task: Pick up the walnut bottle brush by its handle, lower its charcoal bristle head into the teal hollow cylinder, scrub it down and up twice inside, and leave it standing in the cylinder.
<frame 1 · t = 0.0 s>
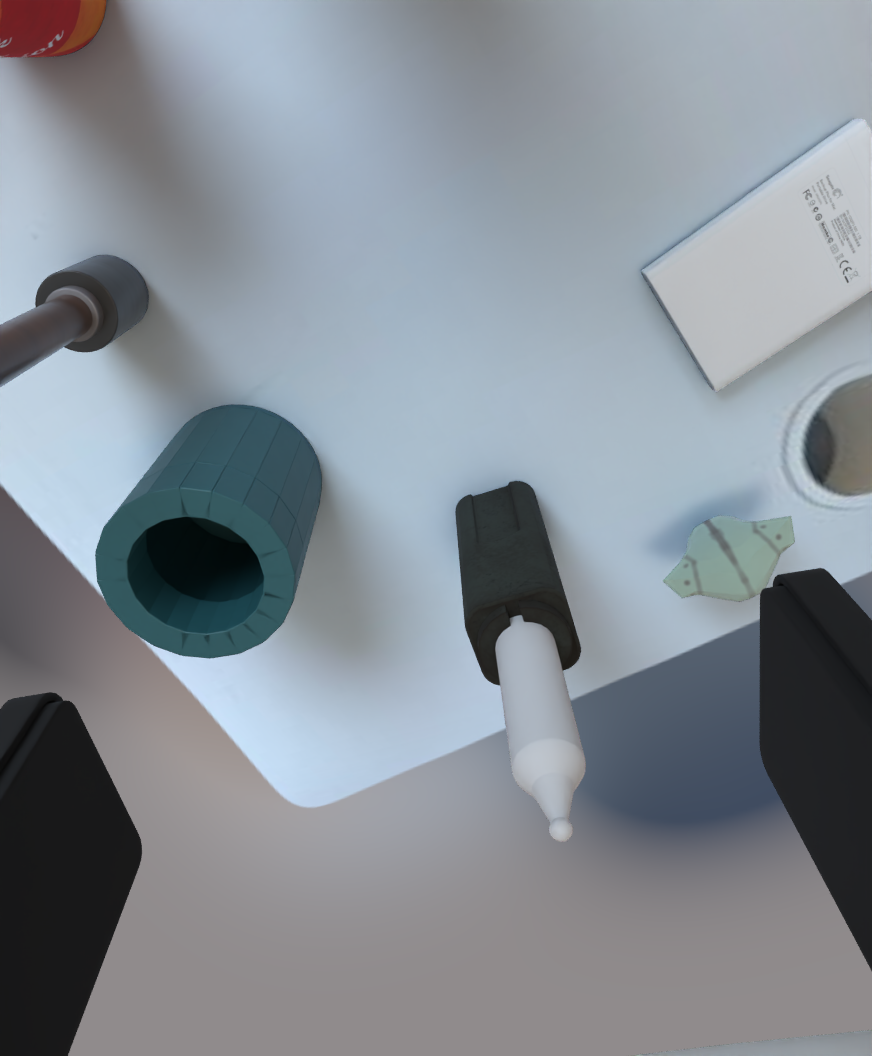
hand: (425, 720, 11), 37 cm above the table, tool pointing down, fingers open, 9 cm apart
hard drive: (773, 261, 44), on the table
teal hollow cylinder: (245, 477, 49), on the table
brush: (111, 292, 44), on the table
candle: (500, 521, 51), on the table
robot head: (707, 528, 51), on the table
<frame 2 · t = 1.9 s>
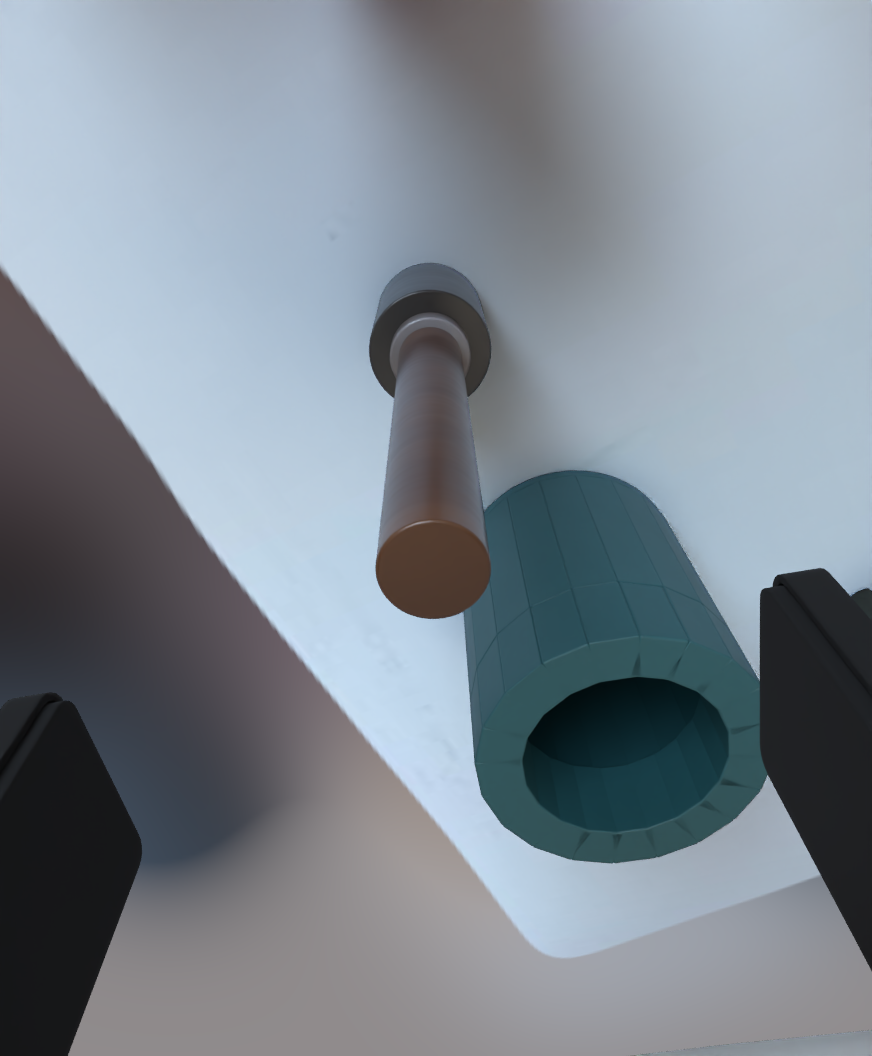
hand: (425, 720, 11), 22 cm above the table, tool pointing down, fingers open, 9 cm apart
teal hollow cylinder: (566, 566, 36), on the table
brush: (429, 317, 31), on the table
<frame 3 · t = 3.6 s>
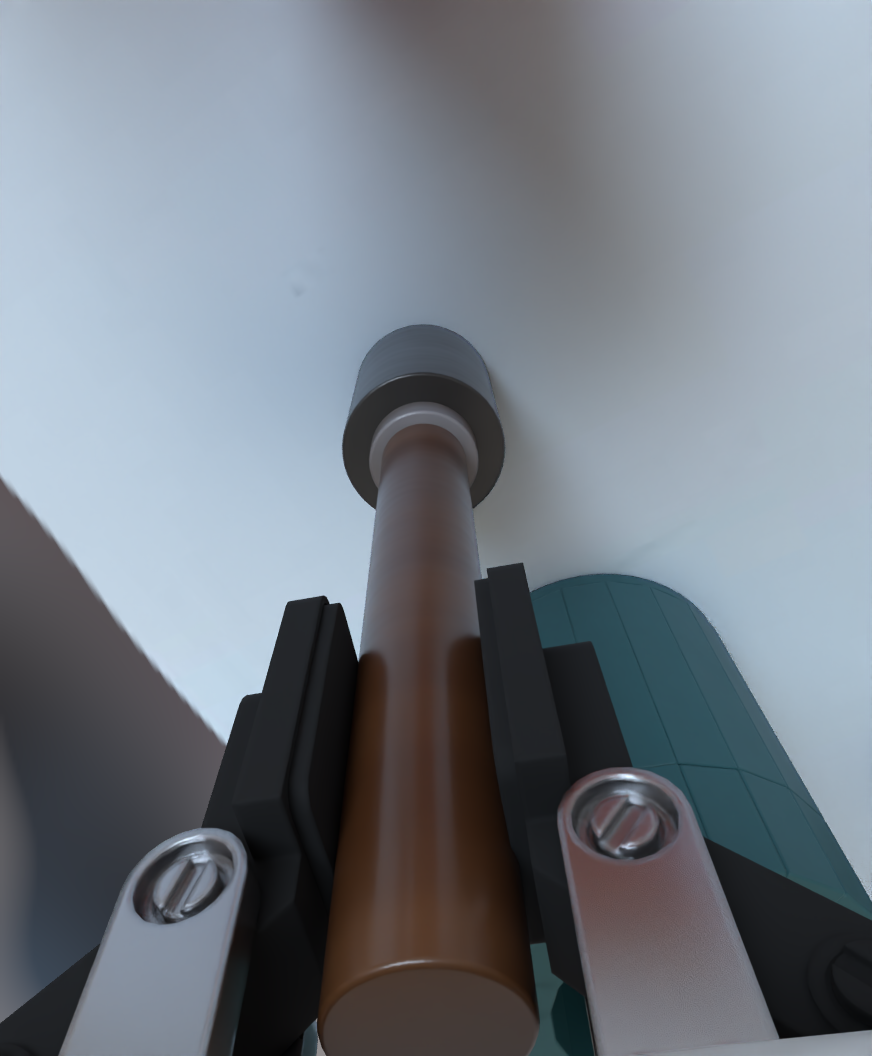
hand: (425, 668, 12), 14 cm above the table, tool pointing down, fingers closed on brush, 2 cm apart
teal hollow cylinder: (592, 684, 29), on the table
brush: (423, 391, 24), on the table, touching gripper
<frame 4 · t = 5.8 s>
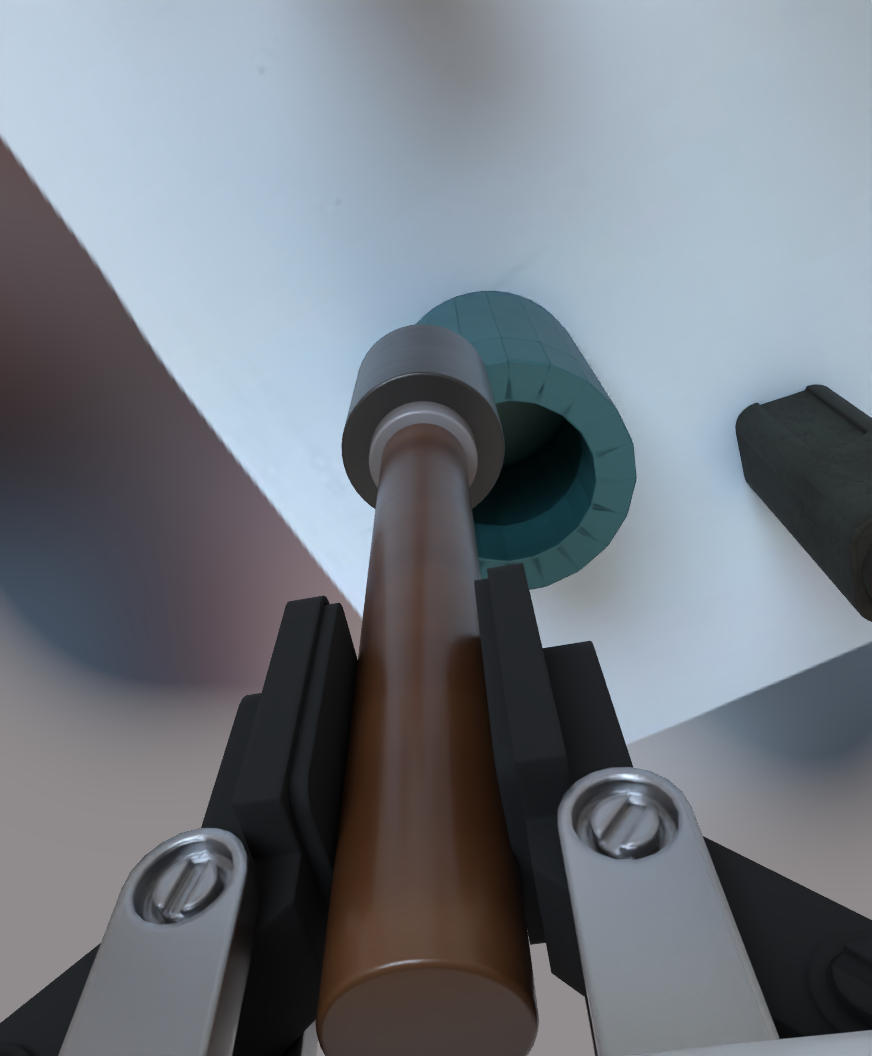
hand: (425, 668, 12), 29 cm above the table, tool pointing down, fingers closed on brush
teal hollow cylinder: (486, 386, 40), on the table
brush: (422, 390, 24), point 16 cm above the table, touching gripper
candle: (786, 437, 42), on the table
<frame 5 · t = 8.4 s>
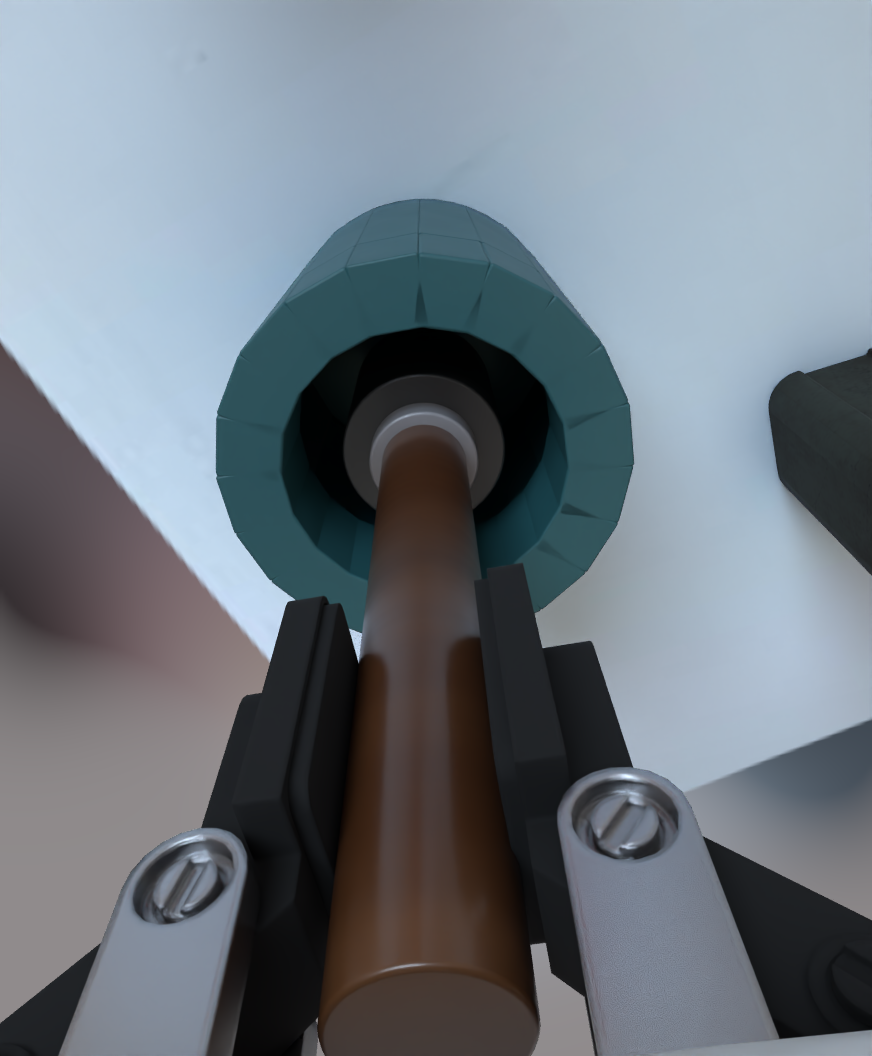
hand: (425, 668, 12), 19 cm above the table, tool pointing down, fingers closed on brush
teal hollow cylinder: (423, 339, 29), on the table
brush: (423, 391, 24), point 5 cm above the table, touching gripper
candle: (837, 420, 31), on the table
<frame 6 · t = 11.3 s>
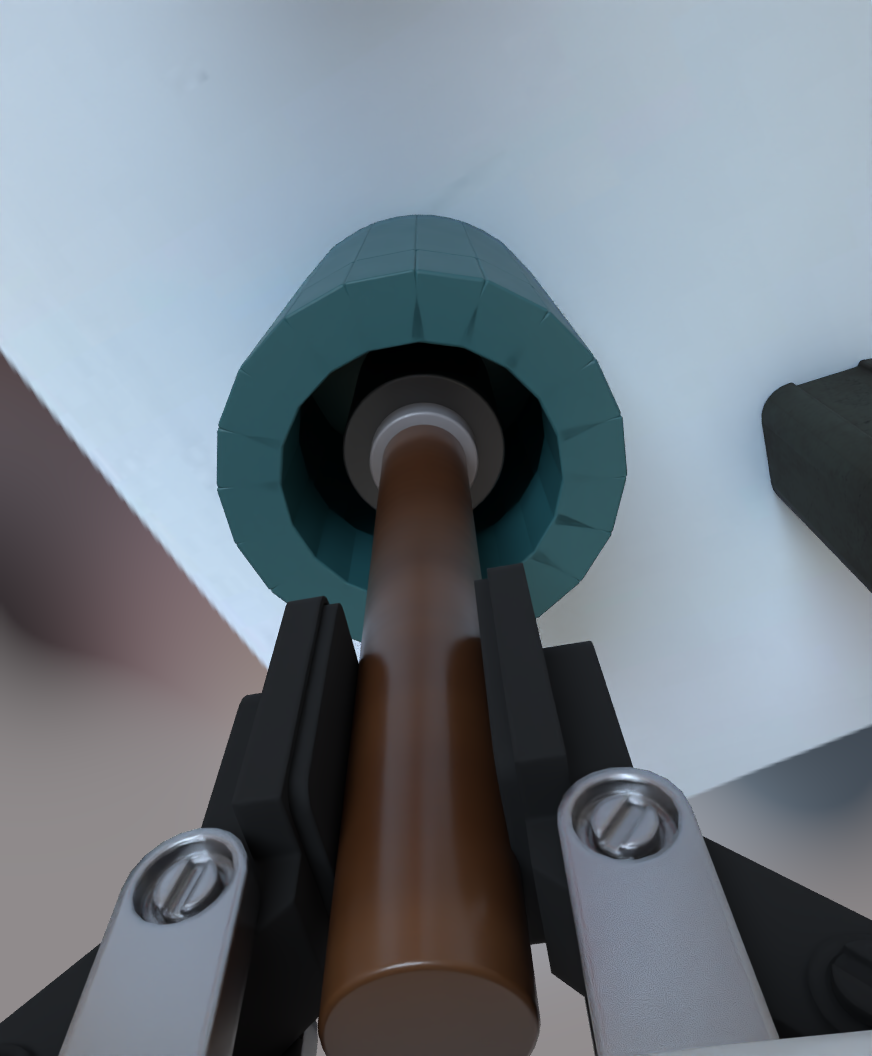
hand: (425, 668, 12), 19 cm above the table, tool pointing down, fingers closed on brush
teal hollow cylinder: (421, 352, 29), on the table
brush: (423, 391, 24), point 6 cm above the table, touching gripper
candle: (829, 430, 31), on the table
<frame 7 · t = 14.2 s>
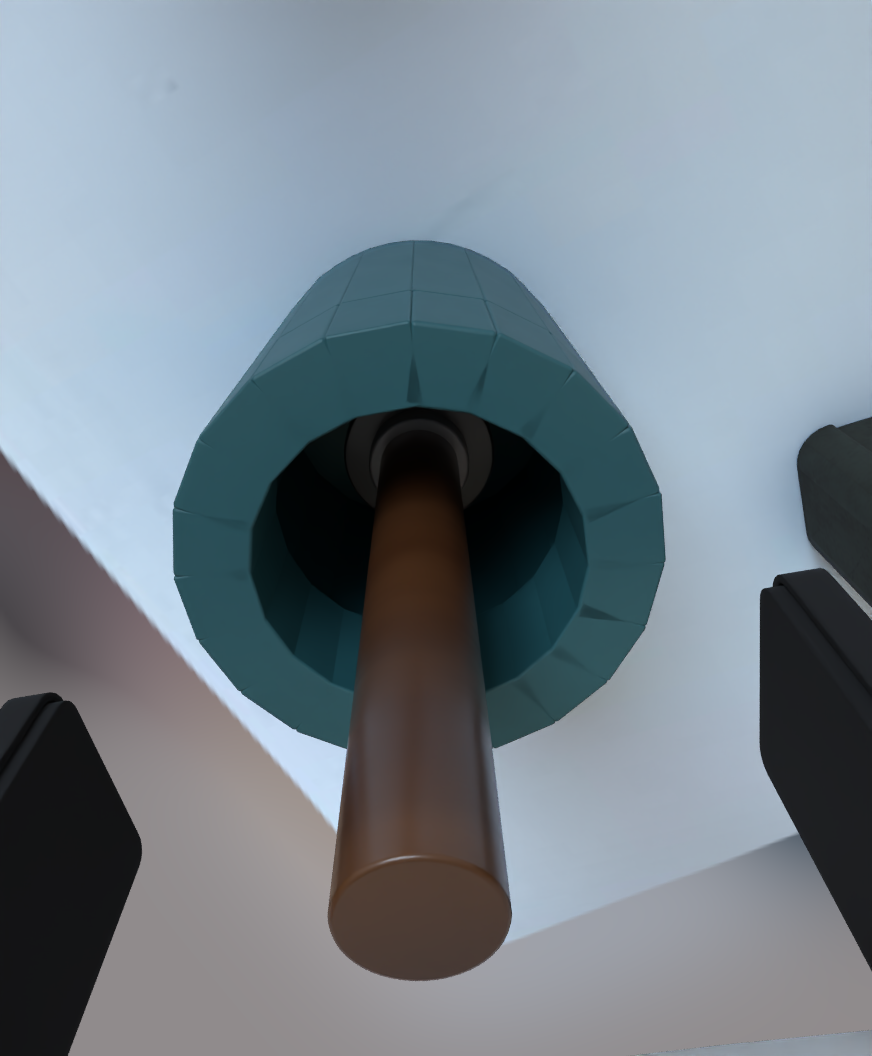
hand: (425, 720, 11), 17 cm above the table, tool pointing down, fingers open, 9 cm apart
teal hollow cylinder: (419, 391, 26), on the table
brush: (419, 400, 26), point 1 cm above the table, touching teal hollow cylinder
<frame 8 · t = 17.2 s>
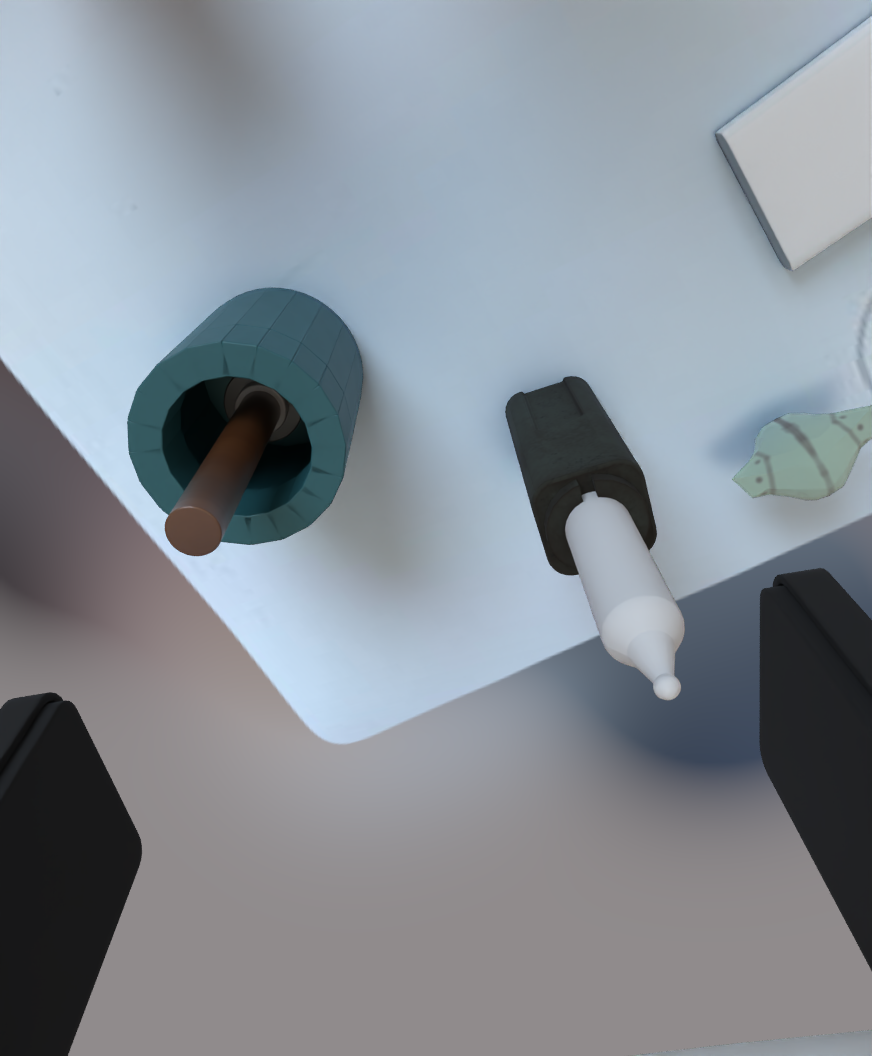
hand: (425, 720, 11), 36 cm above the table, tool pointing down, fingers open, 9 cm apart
hard drive: (858, 123, 40), on the table
teal hollow cylinder: (280, 372, 46), on the table
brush: (278, 377, 45), point 1 cm above the table, touching teal hollow cylinder
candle: (553, 423, 47), on the table
robot head: (774, 431, 48), on the table
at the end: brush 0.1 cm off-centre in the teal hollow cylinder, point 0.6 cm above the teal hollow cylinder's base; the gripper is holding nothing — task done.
